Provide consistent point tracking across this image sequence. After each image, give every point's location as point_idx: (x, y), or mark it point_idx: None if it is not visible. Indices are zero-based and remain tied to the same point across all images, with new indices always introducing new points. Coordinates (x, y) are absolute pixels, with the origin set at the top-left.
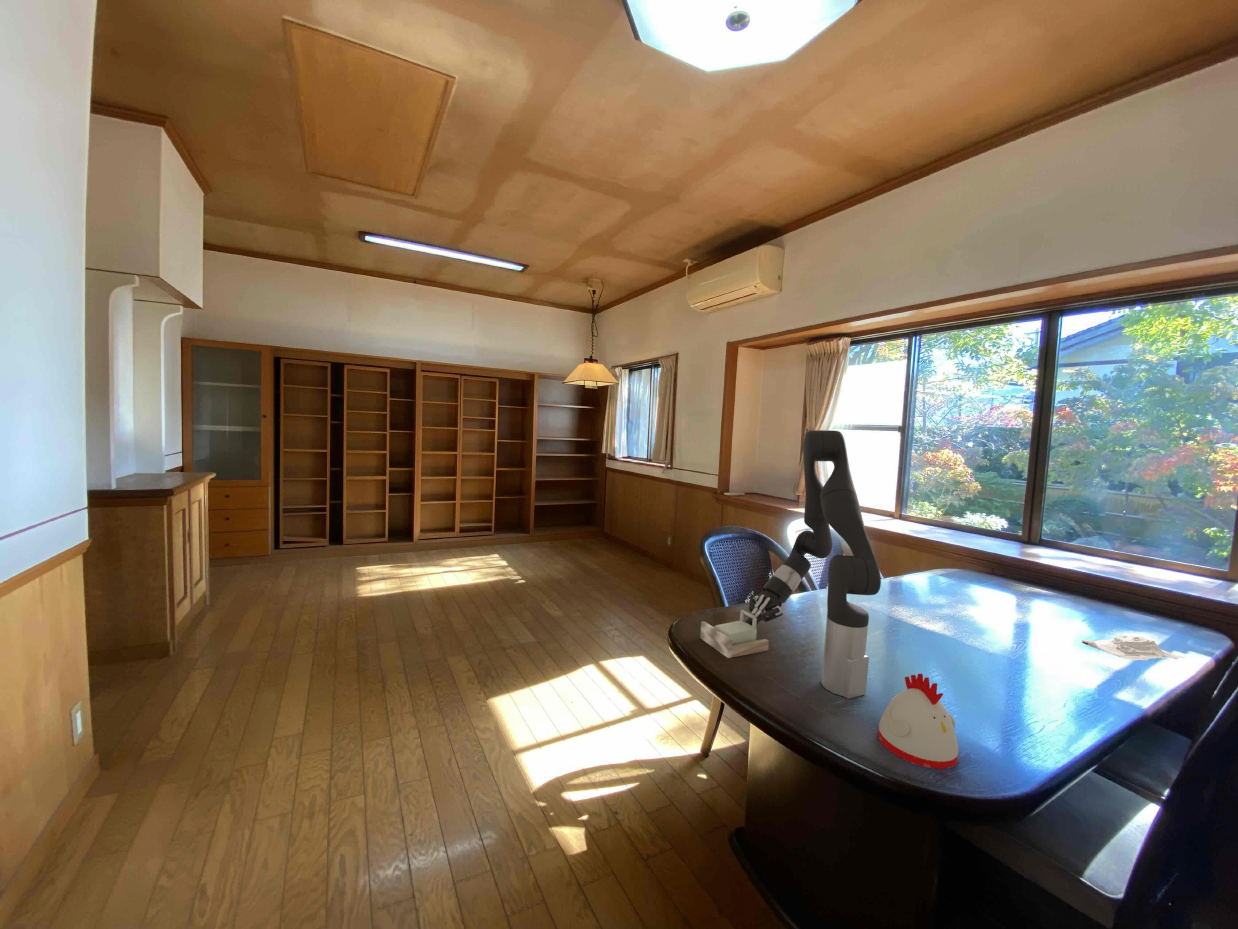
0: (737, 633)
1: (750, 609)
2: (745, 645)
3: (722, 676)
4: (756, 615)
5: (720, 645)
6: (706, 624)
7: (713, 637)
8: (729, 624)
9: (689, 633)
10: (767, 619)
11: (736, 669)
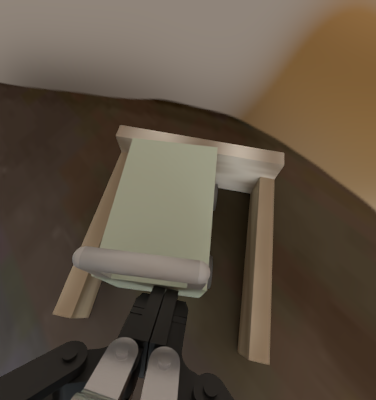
0: (125, 168)
1: (205, 384)
2: (103, 198)
3: (89, 101)
4: (123, 344)
5: None
6: (255, 151)
7: None
8: (197, 198)
9: (302, 182)
10: (51, 395)
11: (84, 139)
